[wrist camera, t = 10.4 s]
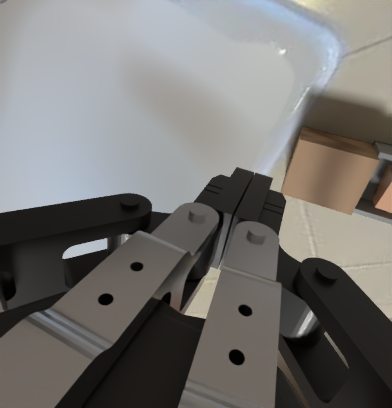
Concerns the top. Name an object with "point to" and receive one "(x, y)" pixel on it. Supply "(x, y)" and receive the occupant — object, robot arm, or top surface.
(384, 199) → the tile
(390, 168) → the tile
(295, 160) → the brown block
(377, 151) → the tray
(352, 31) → the top surface
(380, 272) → the top surface
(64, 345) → the robot arm
